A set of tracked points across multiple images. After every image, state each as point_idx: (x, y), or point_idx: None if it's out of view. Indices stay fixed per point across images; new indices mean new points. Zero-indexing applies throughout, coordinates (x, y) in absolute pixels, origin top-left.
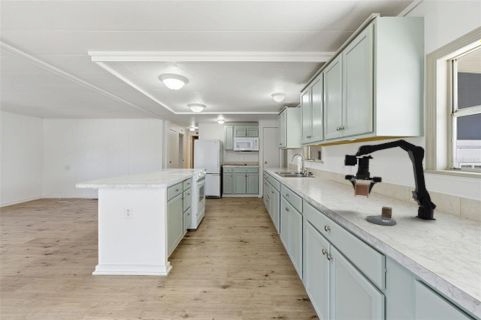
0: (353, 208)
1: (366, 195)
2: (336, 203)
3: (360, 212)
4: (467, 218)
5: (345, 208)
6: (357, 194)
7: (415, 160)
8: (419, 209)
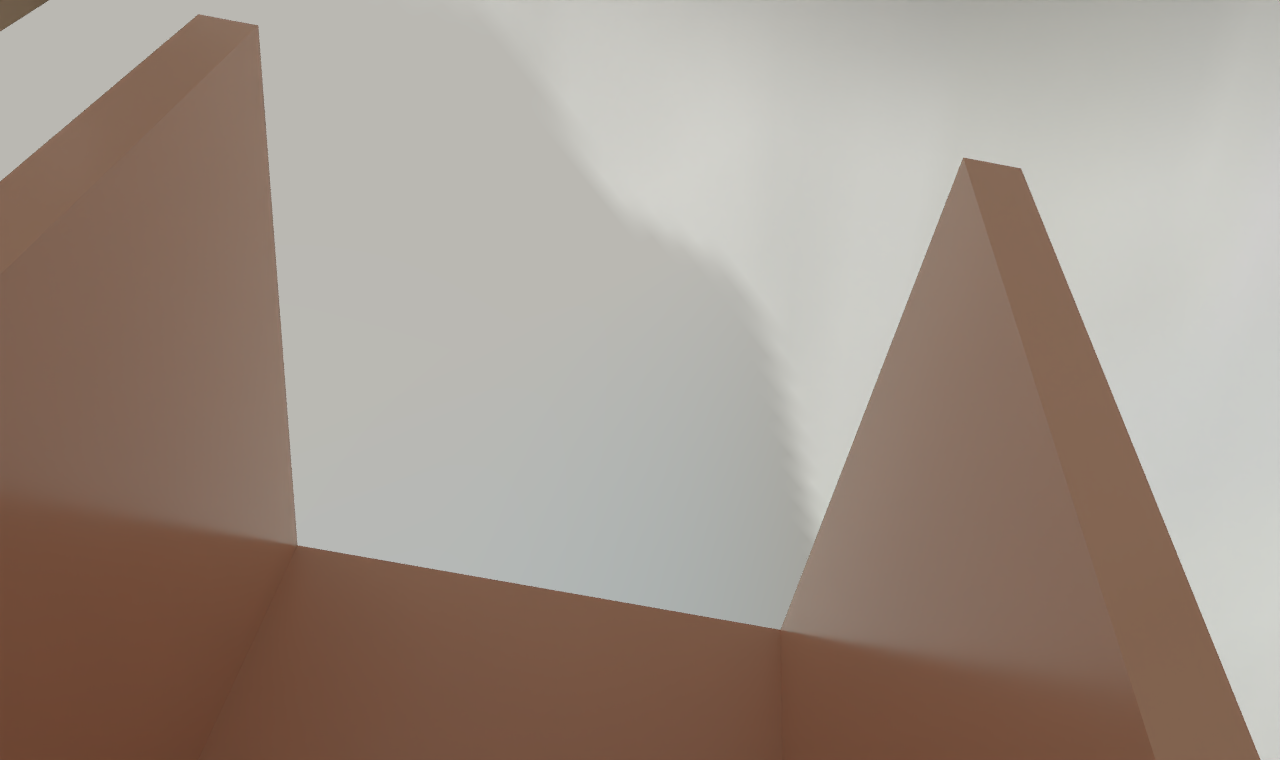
0: (857, 403)
1: (392, 580)
2: (1233, 689)
3: (680, 12)
4: None
5: (1102, 303)
6: (791, 624)
7: None
8: None
